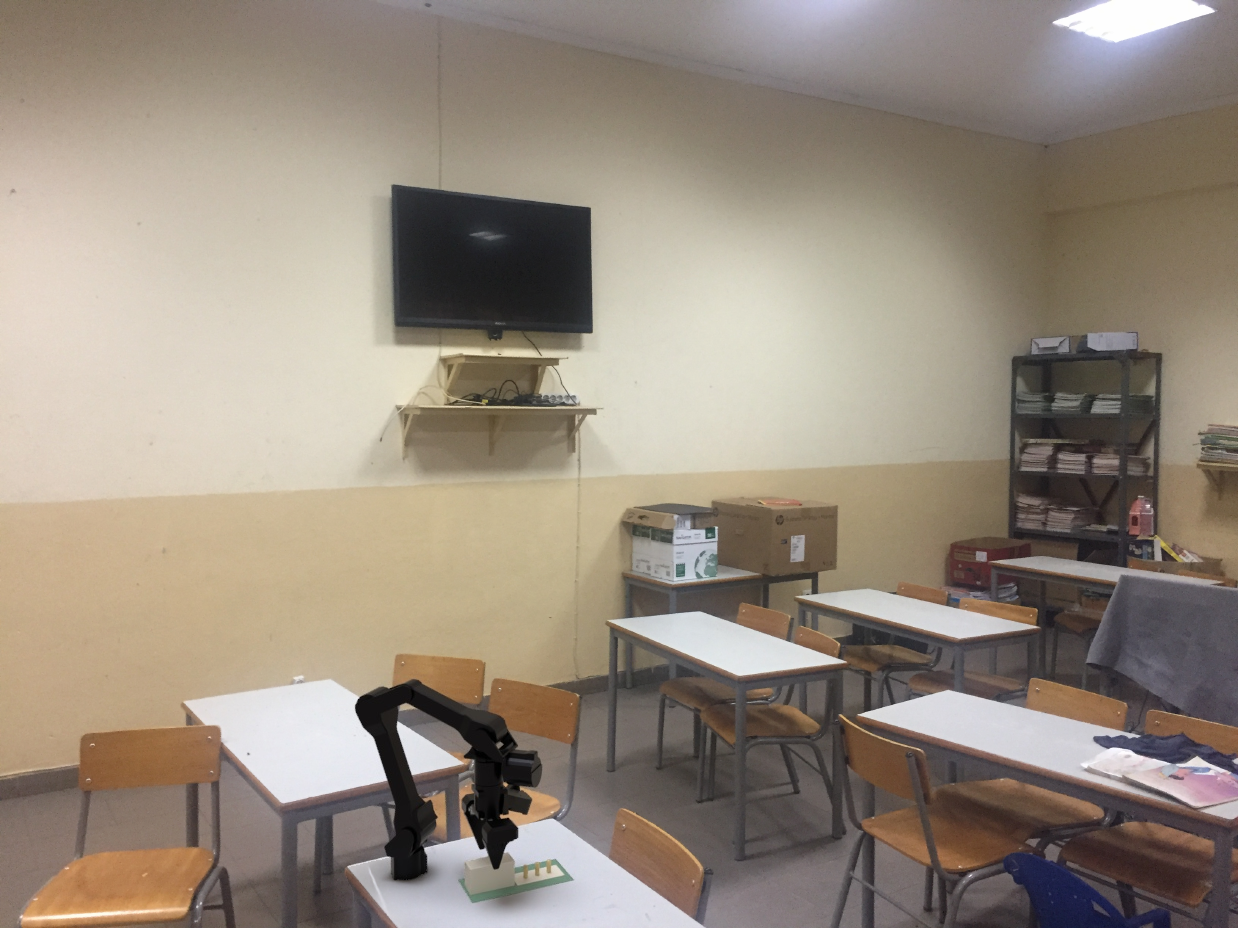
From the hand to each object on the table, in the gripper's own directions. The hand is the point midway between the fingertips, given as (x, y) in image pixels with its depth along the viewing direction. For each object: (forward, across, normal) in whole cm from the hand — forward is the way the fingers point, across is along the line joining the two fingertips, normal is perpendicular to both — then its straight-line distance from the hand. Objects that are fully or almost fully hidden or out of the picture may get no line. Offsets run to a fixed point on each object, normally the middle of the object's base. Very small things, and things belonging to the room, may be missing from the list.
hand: (488, 858), depth 182 cm
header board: (+6, 0, -6) cm, 9 cm away
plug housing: (+5, 0, 0) cm, 5 cm away
